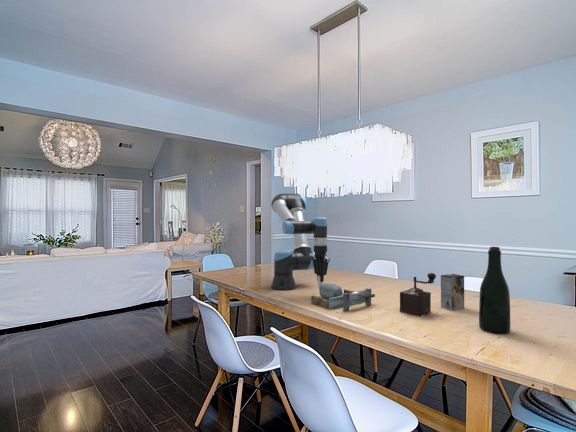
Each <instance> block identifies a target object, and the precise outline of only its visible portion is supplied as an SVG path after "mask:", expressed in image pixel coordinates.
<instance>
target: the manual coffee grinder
mask: <svg viewBox="0 0 576 432" xmlns="http://www.w3.org/2000/svg"><path fill="white" fill-rule="evenodd" d="M427 278H428V280H427V281H421V280H417V276H414V277H413V287H411V288H409V289H406V290H403V291H400V292H399V312H400V313H404V314H408V315H410V316H411V315H412V316H415V317H424V316H426V315H428V314H430V313H431V312H432V310H431V309H432V305H431V304H432V303H431V301H432V300H431V299H432V297H431V295H432V294H431V293H432V292H431V291H424V290H423V288H418V287H417V283H419V284H424V285H426V284H430V285H431V284H434V283H435V279H436V278H437V275H436V274H435V273H434V272H429V273H428V274H427Z"/></svg>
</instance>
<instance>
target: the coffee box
mask: <svg viewBox="0 0 576 432" xmlns="http://www.w3.org/2000/svg"><path fill="white" fill-rule="evenodd" d="M440 308H442V309H444V310H445V309H446V310H449V311H457V310H462V309H465V275H461V274H456V273H450V274H441V275H440Z"/></svg>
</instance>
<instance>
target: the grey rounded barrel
mask: <svg viewBox="0 0 576 432" xmlns="http://www.w3.org/2000/svg"><path fill="white" fill-rule="evenodd" d="M318 291H319V295H320V298H323V299H326V300H329V298H333V297H338V296H343V294H344V291H343V289H342V288H341V286H340V285H337V284H335V283H330V282H329V283H327V282H325V283H323V284H322V285H320V287H319V288H318Z"/></svg>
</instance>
